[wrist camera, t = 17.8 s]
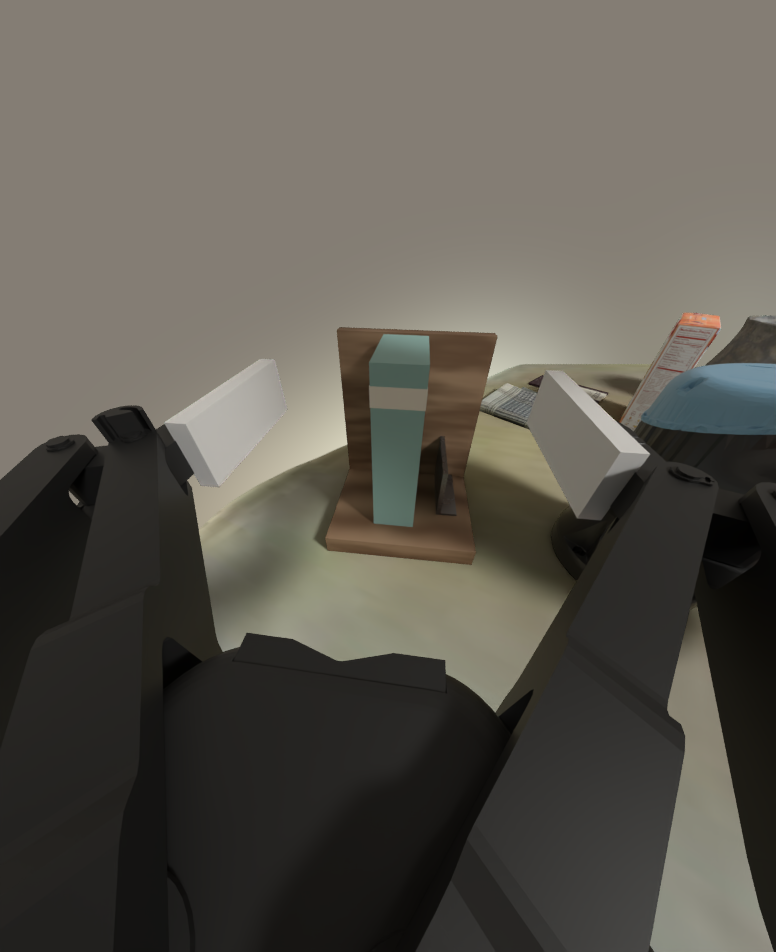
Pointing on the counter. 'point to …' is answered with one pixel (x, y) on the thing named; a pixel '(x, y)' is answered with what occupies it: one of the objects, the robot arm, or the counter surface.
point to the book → (397, 424)
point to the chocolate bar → (593, 393)
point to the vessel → (751, 343)
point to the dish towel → (510, 404)
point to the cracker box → (672, 361)
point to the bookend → (443, 484)
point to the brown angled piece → (447, 414)
